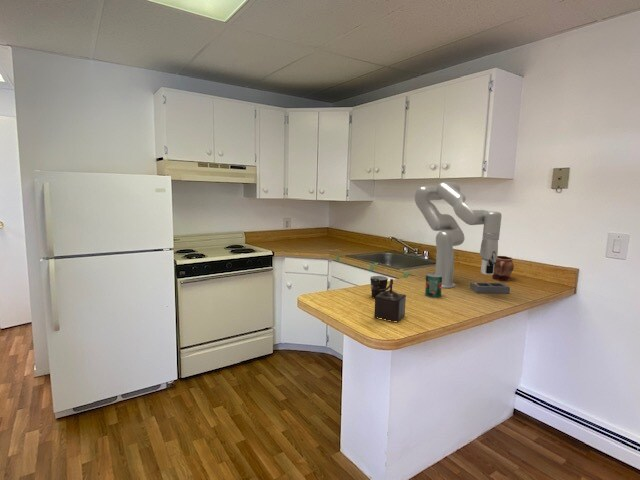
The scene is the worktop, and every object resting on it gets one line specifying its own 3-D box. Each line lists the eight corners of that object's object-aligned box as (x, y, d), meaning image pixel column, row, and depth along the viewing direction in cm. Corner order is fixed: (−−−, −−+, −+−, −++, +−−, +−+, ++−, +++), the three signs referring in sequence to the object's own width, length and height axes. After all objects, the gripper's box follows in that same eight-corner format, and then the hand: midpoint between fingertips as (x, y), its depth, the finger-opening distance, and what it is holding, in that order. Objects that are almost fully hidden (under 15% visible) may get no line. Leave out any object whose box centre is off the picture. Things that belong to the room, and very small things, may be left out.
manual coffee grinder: (381, 310, 161) (382, 271, 158) (405, 315, 155) (407, 274, 152) (367, 321, 147) (368, 278, 145) (393, 327, 142) (395, 282, 139)
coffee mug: (385, 300, 175) (386, 280, 174) (367, 298, 178) (368, 278, 177) (389, 294, 186) (390, 275, 184) (372, 292, 189) (373, 273, 187)
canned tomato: (443, 297, 181) (445, 276, 180) (429, 298, 180) (430, 276, 178) (436, 293, 189) (437, 272, 187) (422, 293, 188) (423, 273, 186)
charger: (484, 274, 180) (485, 260, 179) (480, 272, 185) (482, 258, 184) (493, 274, 180) (494, 260, 179) (489, 272, 185) (490, 258, 184)
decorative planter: (513, 284, 208) (515, 261, 206) (490, 282, 213) (491, 259, 212) (511, 277, 226) (513, 255, 224) (490, 275, 231) (491, 253, 229)
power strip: (476, 293, 190) (477, 285, 190) (465, 284, 206) (465, 278, 206) (509, 293, 190) (510, 286, 189) (495, 285, 206) (495, 278, 205)
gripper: (476, 233, 188) (473, 267, 191) (490, 238, 171) (486, 276, 174) (490, 234, 188) (487, 268, 191) (506, 239, 171) (502, 276, 174)
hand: (487, 271), depth 182 cm, fingers closed on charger, 4 cm apart
